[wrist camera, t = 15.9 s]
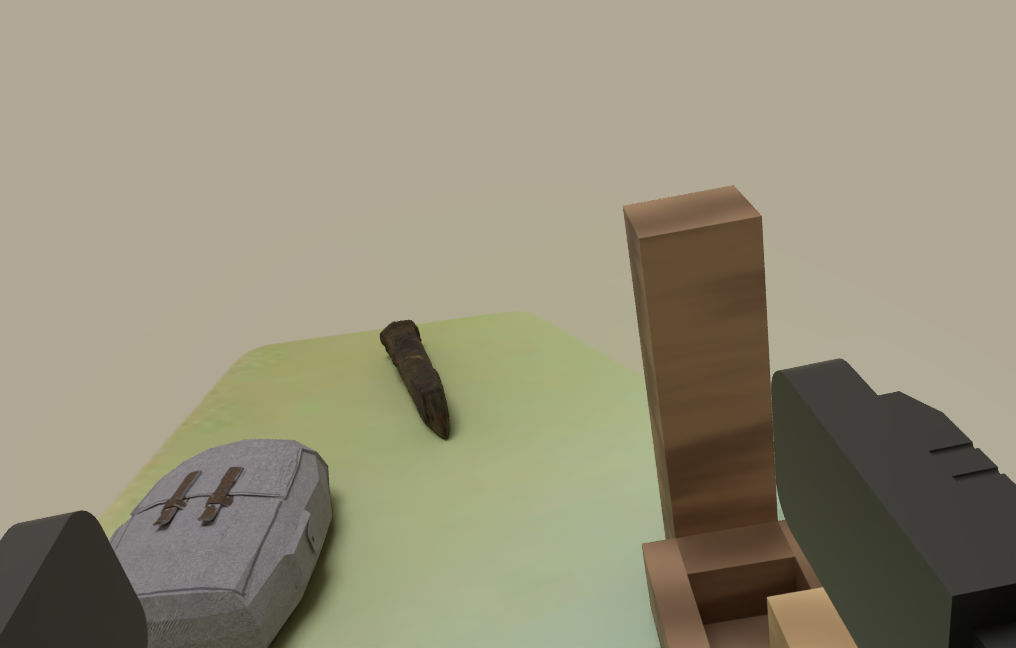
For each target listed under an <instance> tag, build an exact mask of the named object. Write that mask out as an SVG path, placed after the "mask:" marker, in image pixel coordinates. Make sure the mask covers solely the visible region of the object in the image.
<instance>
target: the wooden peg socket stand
mask: <svg viewBox="0 0 1016 648" xmlns="http://www.w3.org/2000/svg"><path fill="white" fill-rule="evenodd" d="M623 211H624V219H625V227H626V234H627V242H628V250H629V258H630V265H631V273H632V281H633V288H634V296H635V303H636V312H637V320H638V328H639V336H640V343H641V350H642V359H643V367H644V374H645V382H646V390H647V398H648V406H649V413H650V421H651V429H652V437H653V444H654V452H655V460H656V468H657V476H658V483H659V491H660V499H661V507H662V514H663V522H664V530H665V538H666V540H661V541H655V542H649V543H643V544H642V550H643V557H644V564H645V571H646V577H647V584H648V591H649V598H650V605H651V609H652V613H653V617H654V621H655V625H656V629H657V633H658V637H659V641H660V645H661V648H770V638H769V622H768V606H767V597H770V596H776V595H782V594H787V593H793V592H799V591H804V590H810V589H816V588H821V587H823V586H822V585H821V583H820V581H819V580H818V578H817V576H816V574H815V573H814V571H813V569H812V567H811V566H810V564H809V562H808V561H807V559H806V557H805V555H804V554H803V552H802V550H801V548H800V547H799V545H798V543H797V541H796V540H795V538H794V536H793V535H792V533H791V531H790V529H789V527H788V524H787V522H786V520H782V521H778V517H777V498H776V479H775V460H774V441H773V421H772V402H771V383H770V367H769V366H770V365H769V345H768V326H767V309H766V308H767V307H766V287H765V268H764V250H763V230H762V216H761V215H760V213H759V212H758V211H757V210H756V209H755V208H754V207H753V206H752V205H751V204H750V203H749V202H748V201H747V200H746V198H745V197H744V196H743V195H742V194H741V193H740V192H739V191H738V190H737V189H736V188H735V186H727V187H722V188H717V189H711V190H707V191H701V192H695V193H690V194H685V195H679V196H674V197H668V198H663V199H658V200H652V201H647V202H641V203H636V204H631V205H626V206H623Z"/></svg>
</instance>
